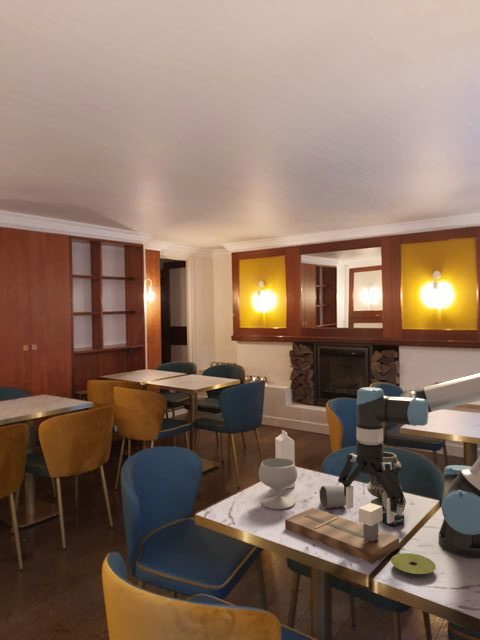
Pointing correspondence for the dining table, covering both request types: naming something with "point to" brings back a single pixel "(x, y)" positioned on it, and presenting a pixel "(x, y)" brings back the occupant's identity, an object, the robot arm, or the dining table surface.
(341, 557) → the dining table surface
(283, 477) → the chalice
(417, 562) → the mat
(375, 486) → the apothecary jar
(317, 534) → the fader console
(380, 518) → the fader knob
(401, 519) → the watch
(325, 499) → the ceramic mug
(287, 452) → the milk
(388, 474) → the robot arm
